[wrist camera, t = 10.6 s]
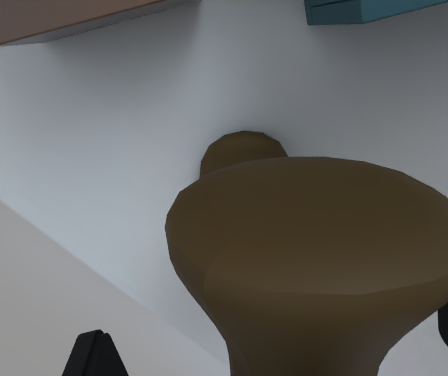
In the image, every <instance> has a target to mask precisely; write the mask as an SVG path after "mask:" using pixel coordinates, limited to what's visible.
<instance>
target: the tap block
mask: <svg viewBox="0 0 448 376" xmlns="http://www.w3.org/2000/svg"><path fill="white" fill-rule="evenodd" d="M197 1H201V0H0V47H2V46H13V45H24V44H35V43H44V42H48V41H52V40H55V39H59V38H63V37H67V36H70V35H74V34H78V33H82V32H85V31H89V30H93V29H96V28H100V27H104V26H108V25H111V24H115V23H119V22H123V21H126V20H130V19H134V18H137V17H141V16H145V15H149V14H152V13H156V12H160V11H164V10H167V9H171V8H175V7H178V6H182V5H186V4H190V3H193V2H197Z"/></svg>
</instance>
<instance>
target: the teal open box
mask: <svg viewBox="0 0 448 376" xmlns="http://www.w3.org/2000/svg"><path fill="white" fill-rule="evenodd" d="M304 2H305V9H306V16H307V23H308V25H342V24H365V23H369V22H373V21H377V20H380V19H384V18H388V17H392V16H396V15H400V14H403V13H407V12H411V11H415V10H419V9H423V8H426V7H430V6H434V5H438V4H442V3H446V2H448V0H304Z"/></svg>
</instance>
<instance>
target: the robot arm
mask: <svg viewBox="0 0 448 376" xmlns="http://www.w3.org/2000/svg"><path fill="white" fill-rule="evenodd" d="M438 328H439V332H440V335H441V337H442V339H443V341H444V342H445V344H446V345H447V346H448V302H447V303H446V304H445V305H444V306H442V307H441V308H440V309H438ZM62 376H128V373H127V371H126V369H125V367H124V364H123V362H122V360H121V358H120V356H119V354H118V351H117V349H116V347H115V345H114V343H113V341H112V338H111V336H110V335H109V334H108V333H105V334H104V333H103V331H101V330H95V331H90V332H86V333H82V334H80V335H78V337H77V339H76V342H75V344H74V347H73V349H72V352H71V354H70V357H69V359H68V362H67V364H66V367H65V369H64V372H63V374H62Z"/></svg>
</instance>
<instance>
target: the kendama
mask: <svg viewBox="0 0 448 376" xmlns="http://www.w3.org/2000/svg"><path fill="white" fill-rule="evenodd" d="M165 231H166V237H167V243H168V249H169V255H170V259H171V262H172V264H173V266H174V269H175V271H176V274H177V275H178V277H179V278H180V280H181V281H182V282H183V284H184V285H185V287H186V288H187V290H188V291H189V292H190V294H191V295H192V296H193V298H194V299H195V300H196V301H197V303H198V304H199V305H200V306H201V308H202V309H203V310H204V311H205V313H206V314H207V315H208V317H209V318H210V319H211V321H212V322H213V323H214V324H215V326H216V327H217V329H218V331H219V332H220V334H221V335H222V337H223V338H224V340H225V342H226V345H227V349H228V354H229V362H230V373H231V376H377V375H378V370H379V365H380V364H381V362H382V361H383V359H384V357H385V356H386V354H387V353H388V351H389V350H390V349H391V348H392V347H393V346H394V345H395V344H396V343H397V342H398V341H399V340H400V339H401V338H402V337H403V336H404V335H406V334H407V333H408V332H410V331H411V330H412V329H413V328H415V327H416V326H417V325H419V324H420V323H421V322H422V321H424V320H425V319H426V318H428V317H429V316H430V315H432V314H433V313H434V312H436V311H437V310H438V309H440V308H441V307H442V306H444V305H445V304H446V303H447V302H448V198H447V197H446V196H444V195H443V194H441V193H440V192H438V191H437V190H435V189H434V188H432V187H430V186H428V185H426V184H424V183H422V182H420V181H418V180H416V179H414V178H412V177H410V176H408V175H406V174H404V173H403V172H401V171H397V170H393V169H390V168H386V167H382V166H379V165H375V164H371V163H368V162H364V161H356V160H348V159H339V158H330V157H288V156H287V154H286V152H285V151H284V149H283V148H282V146H281V144H280V143H279V142H278V141H277V140H275V139H273V138H271V137H269V136H267V135H266V134H264V133H259V132H250V131H240V132H236V133H232V134H227V135H224V136H223V137H221V138H220V139H218V140H217V141H215V142H214V143H212V144H211V145H210V146H209V147H208V149H207V151H206V153H205V155H204V157H203V159H202V161H201V167H200V178H199V180H197V181H195V182H194V183H192V184H191V185H189V186H188V187H186V188H185V189H183V190H182V191H180V192H179V194H178V196H177V198H176V199H175V201H174V203H173V205H172V207H171V208H170V210H169V212H168V214H167V218H166V224H165Z"/></svg>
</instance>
